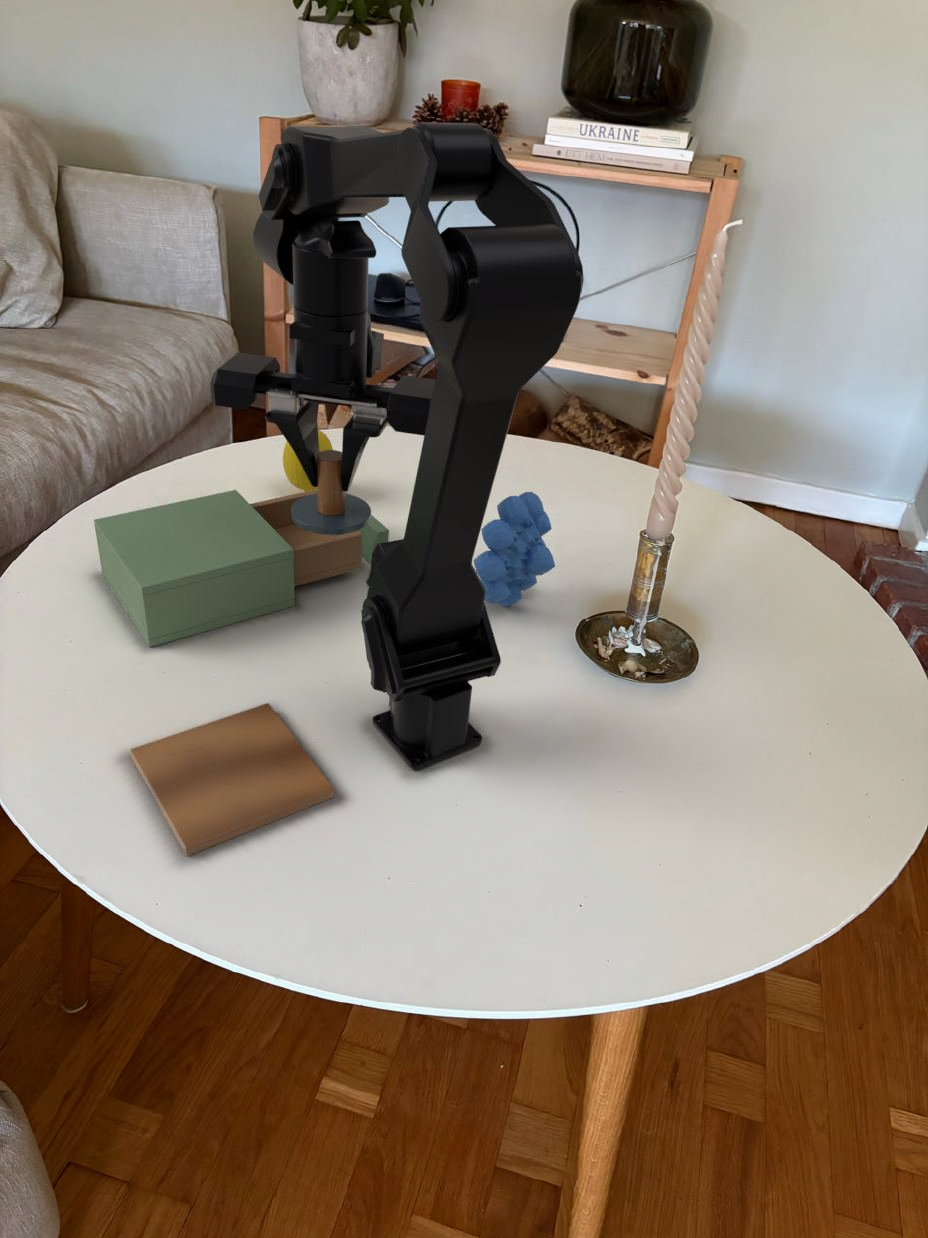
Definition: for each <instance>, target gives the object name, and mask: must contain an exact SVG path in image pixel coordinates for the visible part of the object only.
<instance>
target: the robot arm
mask: <svg viewBox="0 0 928 1238" xmlns="http://www.w3.org/2000/svg"><path fill="white" fill-rule="evenodd" d="M279 137H280V142H281V143H276V144H275V146H274V148H273V151H272V156H271V160H270V163H269V165H268V167H267V171H266V173H265V176H264V178H263V182H262V185H261V186H260V190H259V193H258V199H259V204H260V207H261V213H260V215H259V217H258V219H256V222H255V226H254V229H253V231H252V241H253V246H254V249H255V251H256V254H257V255H258V257H259V258H260V259H261V261H262V262H263V263H264V264H265V265H266V266H267V267H269V268H270V269H272V270H273V271H274V272H275V273H276V274H278V275H279V276H280V277H281V278H283V279H284V280H285V281H286V282H288V283H289V284H290V285H291V286H293V287H292V288H293V289H292V290H293V293H292V294H293V322H292V323H291V324H289V339H290V340H294V369H295V370H294V371H295V373H287V372H281V364H280V362H279V360H278V359H277V357H273V356H268V355H260V354H252V353H245V352H236V353H235V354H234V355H233V356H231V358H229V359H228V360H227V361H225V362H224V363H223V364H221V366H219V367H218V368H217V369H216V370H215V371H214V372H213V373H212V375H211V379H210V383H209V385H210V386H209V387H210V398H211V403H212V404H213V405H214V406H216V407H223V408H231V409H237V410H243V411H244V410H245V411H246V410H247V409H249V407H250V406H252V405H253V404H255V402H256V401H257V400H258V399H257V398H258V396H257V395H258V394H259V395H265V396H266V397H268V399H267V400H268V411H267V412H266V413H265V414H264V418H265V421H266V422H267V423H270V424H275V425H276V427H277V429H278V430H279V431H280V433H281V434H282V436H283V437H284V438H285V441H288V443H289V444H290V446H291V447H292V449H293V451H294V452H295V454H296V456H297V458H298V460H299V462H300V464H301V466H302V468H303V470H304V471H305V473H306V475H307V477H308V479H309V481H310V483H311V485H312V486H313V487H317V454H318V453H319V452H320V450H319V438H318V430H319V427H318V415H319V408H320V403H323V404H330V405H337V406H344V407H350V408H351V413H352V416H351V417H350V418H349V420H348V421H347V422H346V424H345V425H344V426H343V427H342V448H341V452H342V469H341V481H342V489H343V491H345V492H346V493H347V492H348V491H349V490H350V488H351V486H352V483H353V481H354V478H355V475H356V473H357V470H358V467H359V464H360V462H361V460H362V456H363V454H364V451H365V448H366V445H367V444H368V442H369V440H370V438H379V437H380V436H381V435H382V433H383V432H384V430H385V429H386V427H387V426H388V425H389V426H390V427H391V428H392V429H393V431H394V432H396V433H404V434H410V435H416V436H417V435H418V436H423V441H422V446H421V450H420V456H419V460H418V466H417V471H416V475H415V481H414V486H413V489H412V490H413V491H412V496H411V501H410V504H409V505H410V506H409V510H408V515H407V521H406V525H405V531H404V535H403V538H401V539H395V540H391V541H388V542H385V543H380V544H377V546H376V548H375V549H374V551H373V553H372V560H371V565H370V572H369V575H368V577H367V579H366V580H365V584H366V586H367V587H368V589H367V593H366V598H364V600H363V602H362V609H361V611H360V612H361V620H360V621H361V622H360V623H361V628H362V633H363V637H364V638H363V639H364V646H365V656H366V660H367V663H368V667H369V669H370V686H371V687H372V689H373V690H375V691H378V692H382V693H383V694H387V695H388V700H389V701H388V707H389V710H387V711H384V712H381V713H379V714H376V715H374V716H373V717H372V725H373V727H375V729H376V730H377V731H378V732H379V734H380V735H381V736H382V737H383V738H384V740H386V741H387V743H388V744H389V745H390V747H392V748H393V750H394V751H395V752H396V753H397V754H398V755H399V757H400V758H401V759H402V760H403V761H404V762H405V764H406V765H407V766H408V767H409V768H410V769H411V770H414V771H419V770H421V769H423V768H427V767H428V766H431V765H433V764H436V763H438V762H441V761H443V760H446V759H448V758H451V757H453V756H456V755H458V754H460V753H463V752H465V751H467V750H470V749H472V748H476V747H478V746H479V745H481V744H482V742H483V736H482V735H481V734H480V732H479V731H478V730H477V729H476V728H475V727H474V726H473V725H472V724H471V723H470V722H469V719H470V711H471V703H472V702H471V701H472V692H473V686H472V685H471V683H470V681H471V682H472V681H473V680H478V679H482V678H485V677H487V678H490V677H494V676H496V674H497V671H498V670H499V668H500V665H501V663H502V660H501V655H500V652H499V648H498V645H497V642H496V638H495V634H494V630H493V628H492V625H491V621H490V618H489V614H488V611H487V607H486V604H485V600H484V599H485V591H486V590H485V588H484V586H483V584H482V582H481V579H480V577H479V575H478V574H477V572H476V569H475V566H474V564H473V560H474V559H473V558H474V555H475V552H476V547H477V543H478V540H479V537H480V534H481V533H480V532H481V529H482V526H483V522H484V519H485V515H486V511H487V509H488V504H489V500H490V497H491V493H492V489H493V486H494V482H495V479H496V476H497V472H498V468H499V465H500V460H501V457H502V453H503V450H504V447H505V443H506V439H507V435H508V433H509V429H510V426H511V421H512V418H513V414H514V411H515V407H516V403H517V400H518V396H519V394H520V391H521V389H522V388H523V387H524V386H526V384H527V383H528V382H529V381H531V379H532V378H533V377H534V376H536V374H537V373H538V372H540V371H541V370H542V369H543V368H544V367H545V365H547V364H548V363H549V361H551V360H552V358H554V357H555V356H556V355H557V353H558V351H559V349H560V347H561V345H562V344H563V342H564V339H565V337H566V335H567V332H568V330H569V327H570V326H571V323H572V321H573V319H574V316H575V315H576V312H577V309H578V306H579V304H580V301H581V295H582V293H583V285H584V267H583V263H582V260H581V257H580V254H579V252H578V250H577V248H576V246H575V244H574V242H573V239H572V238H571V236H570V234H569V231H568V230H567V228H566V225H565V223H564V221H563V219H562V217H561V215H560V213H559V210H558V209H557V207H556V204H555V203H554V202H553V200H552V199H551V198H550V196H548V195H547V194H546V193H545V192H543V191H542V190H541V189H540V188H539V187H538V186H537V185H536V184H535V183H533V182H532V181H531V180H530V179H529V178H528V177H526V176H525V175H524V174H523V173H522V172H521V171H520V170H518V169H517V168H516V167H515V166H514V165H513V164H511V162H509V160H508V159H507V157H506V154H505V153H504V151H503V149H502V147H501V145H500V142H499V139H498V137H497V136H496V135H495V133H494V132H493V131H492V129H489V128H485V127H483V126H482V125H481V124H478V123H474V122H417V123H415V124H414V125H413V126H411V127H409V126H407V128H405V129H401V130H393V131H386V132H382V131H380V130H376V129H374V128H370V127H367V126H311V125H310V126H306V125H304V126H302V125H300V126H299V125H288V126H286V127H285V128H284V130H283V131H282V132H281V134H280V136H279ZM390 198H405V200H406V203H407V206H408V209H409V210H410V212H409V218H408V221H407V225H406V229H405V233H404V238H403V243H402V246H401V251H400V252H401V258H402V261H403V262H404V264H405V267H406V269H407V272H408V274H409V277H410V279H411V282H412V284H413V287H414V289H415V291H416V294H417V296H418V299H419V301H420V306H419V307H420V308H419V319H418V320H419V322H420V325H421V327H422V330H423V332H424V334H425V336H426V338H427V340H428V342H429V345H430V347H431V349H432V351H433V353H434V356H435V358H436V360H437V370H436V376H435V379H433V378H427V377H420V376H412V375H405V374H402V376H401V377H400V379H399V380H398V381H397V382H396V384H395V386H394V387H392V386H385V385H377V384H367V379H373V378H374V376H375V375H376V372H377V371H381V369H382V368H381V367H382V359H383V358H382V357H383V349H384V337H385V334H384V333H383V332H379V331H376V330H372V319H371V312H368V311H369V309H368V308H369V307H368V306H369V262H370V261H369V259H374V258H375V257H376V256H377V249H376V246H375V244H374V243H375V242H374V240H372V238H370V236H369V235H368V234H367V233H366V231H365V230H364V228H363V226H362V223H361V221H360V220H358V219H357V220H355V219H354V220H339V219H349V218H350V219H351V218H366V216H367V215H368V214H370V213H374V212H376V211H378V210H380V209H382V208H384V207H386V206H387V205H389V203H390ZM472 201H474V203H475V205H476V207H477V209H478V210H479V212H480V213H481V214H482V215H483V216H484V217H485V218H487V220H489V221H490V222H491V223H492V224H493V225H477V226H476V225H475V226H471V225H470V226H450V227H447V228H445V229H443V230H442V231H441V233H440V230H439V227H438V225H437V223H436V221H435V219H434V217H433V214H432V212H431V210H430V207H429V204H430V203H431V202H472Z"/></svg>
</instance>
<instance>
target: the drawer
mask: <svg viewBox="0 0 928 1238" xmlns="http://www.w3.org/2000/svg"><path fill="white" fill-rule="evenodd" d="M315 493H317V491H316V490H311V491H306V492H305V491H302V492H297V493H293V494H288V495H284V496H280V497H275V498H270V499H266V500H261V501H256V502H253V503H249V504H250V505H251V506H252V507H253V508H254V509H255V510H256V511H257V512H258V513H259V514H260V515H261V516H262V517H263V518H264V519H265V520H266V521H267V523H268V524H269V525H270V526H271V527H272V528H273V529H274V530H275V531H276V532H277V533H278V534H279V535H280V536H281V537H282V538H283V539H284V540H285V541H286V542H287V543H288V544H289V545H290V546H291V547H292V548H293V549H294V588H295V587H299V586H302V585H305V584H310V583H313V582H316V581H319V580H320V581H321V580H323V579H328V578H330V577H335V576H337V575H338V576H339V575H342V574H346V573H350V572H352V571H356V570H359V569H362V559H363V560H364V561H365V562H366V563H368V564H369V565H370V566H371V560H372V553H373V551H374V549H375V548H376V546H377V544H380V543H385V542H389V536H390V535H389V533H390V530H389V528H387V527H386V526H385V525H384V524H383V523H382V522H380V521H379V520H378V519H377V518H376V517H375V516H374V515H372V514H371V519H370V521H369V523H368V524H367V525H366V526H365V527H363V528H361V529H360V530H357V531H355V532H351V533H347V534H339V535H325V534H318V533H313V532H309V531H307V530H304V529H302V528H300V527H299V526H297V525H296V524H295V523H294V522H293V520H292V517H291V508H292V506H293V504H294V503H295V502H296V501H297V500H299V499H300V498H302V497H305V496H307V495H311V494H315ZM345 494H348V493H347V492H345Z"/></svg>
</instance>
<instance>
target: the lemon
mask: <svg viewBox="0 0 928 1238" xmlns="http://www.w3.org/2000/svg"><path fill="white" fill-rule="evenodd" d="M318 438H319V450H320V452H321V451H324V450H334V449H333V445H332V442H331V440H330V439H329V437H328V435H326V434H325V433H324V432H323V431H322V430H320V429H318ZM285 441H286V442H285V445H284V448H283V453H282V466H283V470H284V474H285V477H286V478H287V479H288V481H289V482H290V483H291V485H292V486H294V487H295V488H297V489H299V490H301V491H303V492H306V491H311V490H314V491H317V487H313V486H312V485H311V483H310V481H309V479H308V477H307V475H306V473H305V471H304V470H303V468H302V466H301V464H300V462H299V460H298V458H297V456H296V454H295V452H294V451H293V449H292V447H291V446H290V444H289V443H288V441H287V440H285Z"/></svg>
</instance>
